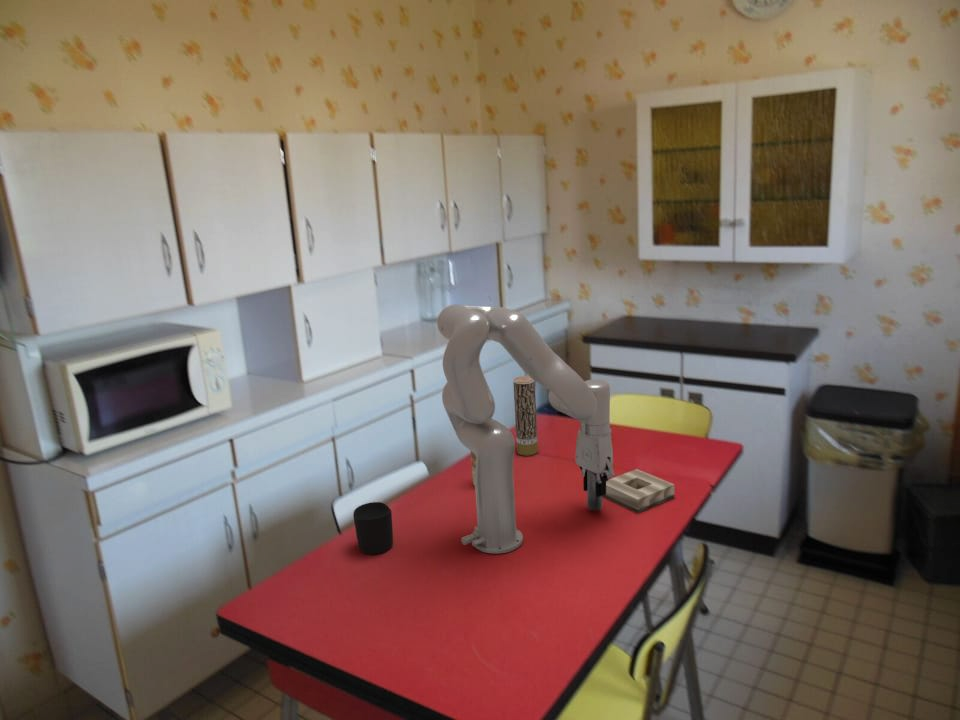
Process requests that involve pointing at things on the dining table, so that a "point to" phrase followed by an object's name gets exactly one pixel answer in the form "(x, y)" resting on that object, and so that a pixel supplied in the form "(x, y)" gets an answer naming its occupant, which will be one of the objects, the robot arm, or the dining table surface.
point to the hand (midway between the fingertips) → (594, 491)
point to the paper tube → (525, 415)
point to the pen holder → (373, 528)
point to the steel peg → (593, 492)
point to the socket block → (638, 490)
